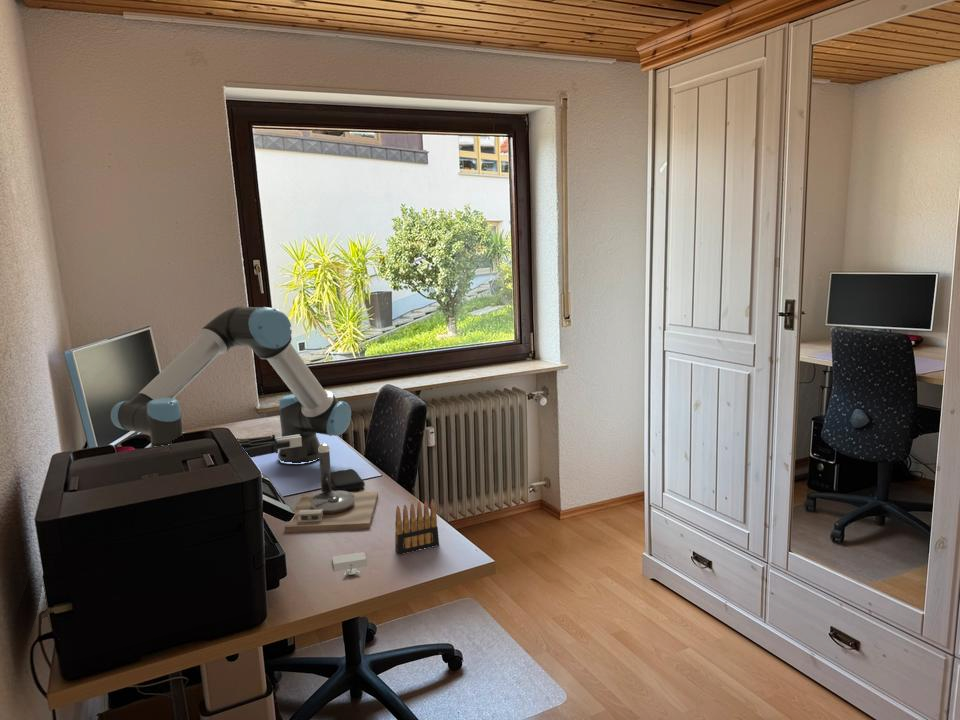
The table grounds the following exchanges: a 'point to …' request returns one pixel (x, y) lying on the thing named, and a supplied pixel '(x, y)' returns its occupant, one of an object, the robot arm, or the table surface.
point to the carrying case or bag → (346, 481)
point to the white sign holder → (349, 562)
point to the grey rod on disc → (330, 489)
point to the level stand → (334, 515)
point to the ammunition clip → (416, 529)
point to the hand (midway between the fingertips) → (300, 440)
